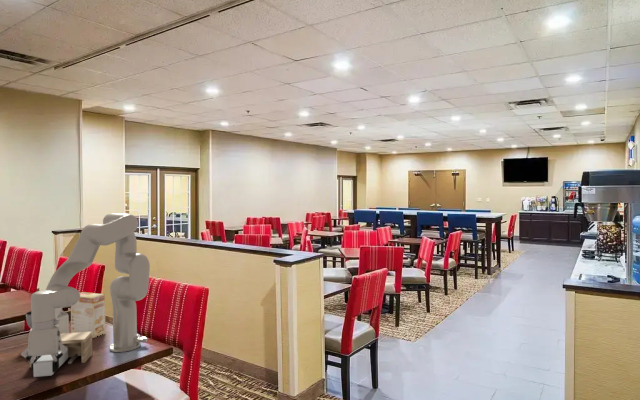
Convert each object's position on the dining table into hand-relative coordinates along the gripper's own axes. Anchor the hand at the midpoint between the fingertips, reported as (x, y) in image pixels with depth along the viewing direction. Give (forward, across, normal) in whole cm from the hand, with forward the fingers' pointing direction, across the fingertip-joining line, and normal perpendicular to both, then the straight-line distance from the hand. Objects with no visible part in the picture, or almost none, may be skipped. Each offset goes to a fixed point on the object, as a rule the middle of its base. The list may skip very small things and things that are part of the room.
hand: (45, 371), depth 156 cm
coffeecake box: (+3, 0, -47) cm, 47 cm away
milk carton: (+3, +7, -28) cm, 29 cm away
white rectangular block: (+1, 0, -6) cm, 6 cm away
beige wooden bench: (+2, 0, -16) cm, 16 cm away
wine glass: (+3, +18, -38) cm, 42 cm away
